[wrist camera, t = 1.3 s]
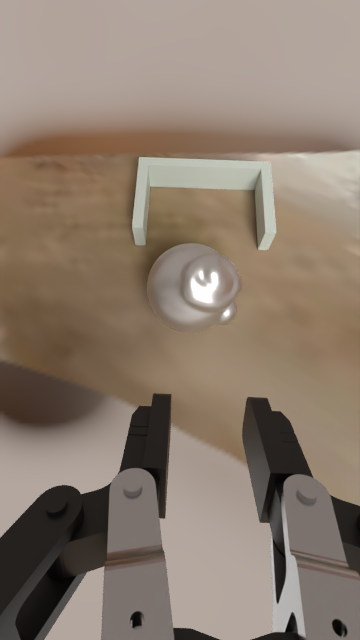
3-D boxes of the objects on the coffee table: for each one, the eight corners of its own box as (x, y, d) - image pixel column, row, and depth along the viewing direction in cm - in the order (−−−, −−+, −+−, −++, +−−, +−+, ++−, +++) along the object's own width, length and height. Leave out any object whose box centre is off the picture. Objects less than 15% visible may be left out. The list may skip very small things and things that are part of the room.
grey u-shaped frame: (135, 245, 39) (131, 227, 36) (142, 178, 42) (139, 157, 39) (267, 249, 39) (276, 232, 35) (263, 183, 42) (270, 161, 39)
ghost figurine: (185, 363, 34) (189, 335, 24) (135, 298, 36) (120, 250, 27) (249, 315, 36) (275, 272, 26) (197, 256, 38) (204, 198, 29)
